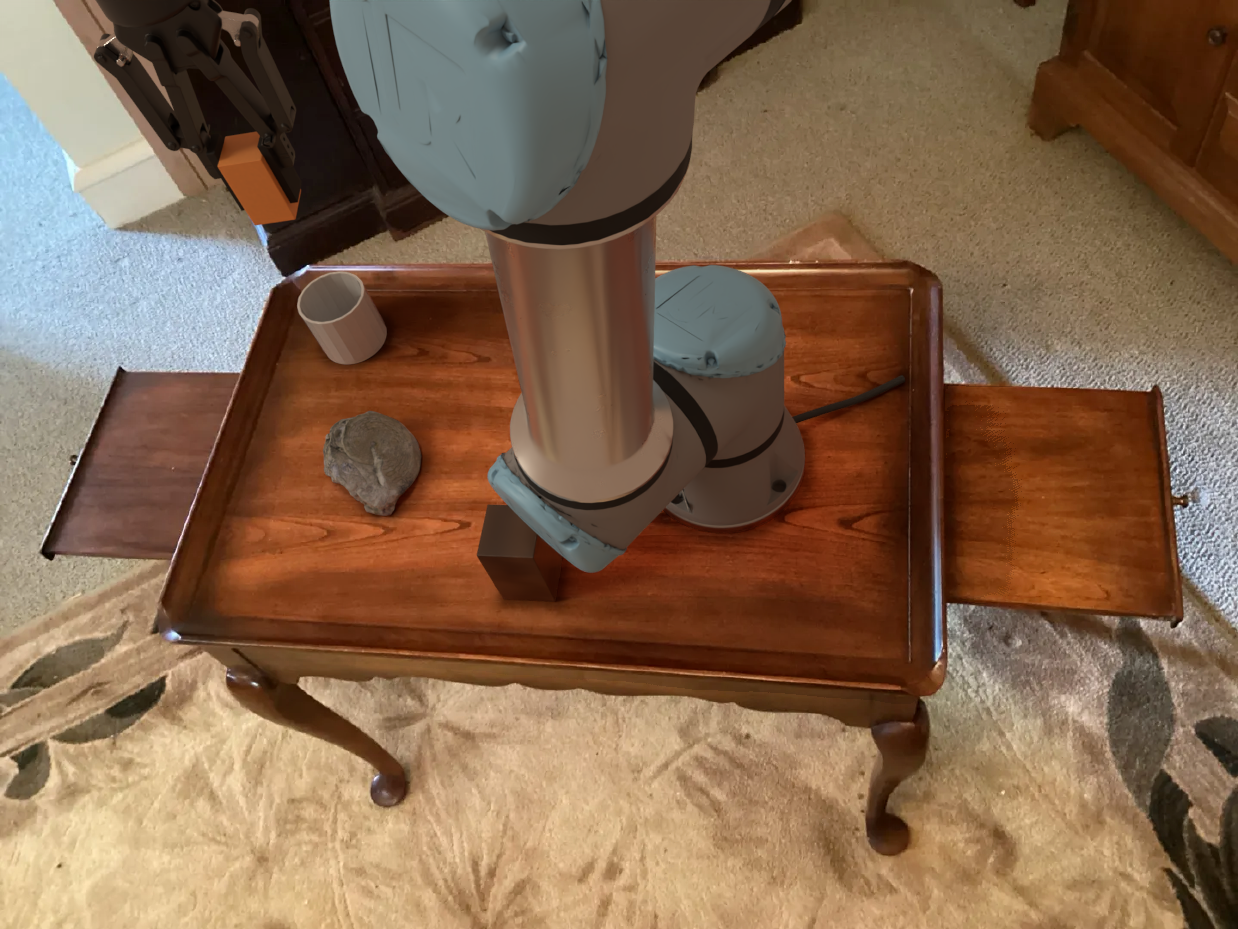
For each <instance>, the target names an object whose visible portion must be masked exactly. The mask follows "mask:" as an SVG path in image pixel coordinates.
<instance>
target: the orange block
mask: <svg viewBox="0 0 1238 929" xmlns="http://www.w3.org/2000/svg"><path fill="white" fill-rule="evenodd" d="M259 137H260V135H259V134H258V133H257V132H256V131H252V132H251V131H250V132H246V133H245V132H244V133H240V134H239V133H238V134H234V135H233V134H232V135H227V136H225V137H224V144H223V148H222V152H221V156H220V159H219V163H218V168H219V170H220V171H221V173H222V175H223V176H224V178H225V179H226V181H227V182H228V184H229V186H230V187H231V189H232V190H233V192H234V193H235V195H236V197H237V198H238V200H239V201H240V203H241V205H242V206H243V208H244V209H245V210H244V212H245V213H246V214H247V216H248V217H249V219H250V221H251V222H252V223H253V225H254V226H261V225H268V224H274V223H282V222H288V221H294V220H296V219H297V214H298V210H299V209H298V208H299V204H300V198H301V194H302V188H301V189H300V194H299V199H298V202H296V203H290V202H289V200H288V198H287V197H286V195H285V193H284V191H283V190H282V188H281V186H280V184H279V183H278V181H277V179H276V177H275V176H274V174H273V172H272V171H271V169H270V167H269V165H268V164H267V162H266V160H265V158H264V157H263V155H262V154H261V152H260V150H259V149H258V147H257V146H258V141H259Z"/></svg>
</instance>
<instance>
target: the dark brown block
mask: <svg viewBox="0 0 1238 929" xmlns="http://www.w3.org/2000/svg"><path fill="white" fill-rule="evenodd" d="M476 551H477V552H476V557H477V559H478V560H479V562H480V564H481V565H482V567H483V569H484V570H485V573H487V575H488V578H490V580H491V582H492V583H493V585H494V587H495V589H496V590H497V591H498V593H499V595H500V597H501V598H502V599H503V600H509V601H510V600H512V601H533V602H549V603H550V602H552V603H556V601H557V596H558V588H559V584H560V578H561V572H562V565H563V558H564V557H563V556H562V555H560V554H559V553H558V552H557V551H556V550H554V549H553V548H552V547H551V546H550V545H549V544H548V543H547V542H545V541H544V540H543V539H542V538H541V537H540V536H539V535H538V534H537V533H536V532H535V531H533V530H532V529H531V528H530V527H529V526H528V525H527V524H526V523H525V522H524V521H523V520H522V519H521V518H520V517H519V516H518V515H517V514H516V513H515V512H514V511H513V510H512V509H511V508H510V507H509V506H508V505H507V504H491V503H490V504H487V505H486V510H485V514H484V519H483V523H482V528H481V533H480V537H479V542H478V546H477V550H476Z"/></svg>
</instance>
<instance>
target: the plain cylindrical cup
mask: <svg viewBox="0 0 1238 929" xmlns="http://www.w3.org/2000/svg"><path fill="white" fill-rule="evenodd" d="M296 304H297V305H296V307H297V312H298V315H299V316H300V318H301V319H302V321H303V322H304V324H305V325H306V327H307V328H308V330H309V331H310V333H311V334H312V336H313V337H314V339H315V341H316V342H317V343H318V345H319V347H320V348H321V350H322V351H323V353H324V354H325V355H326V357H327V358H328V359H329V360H331V361H332V362H334V363H336V364H339V365H354V364H359V363H362V362H364V361H367V360H368V359H370V358H371V357H373V356H374V355H376V354H377V353H378V352H379V351H380V349H381V348H382V347H383V345H384V344H385V342H386V339H387V335H388V333H387V331H388V329H387V325H386V324H385V321H384V318H383V317H382V315H381V314H380V311H379V310H378V308H377V306H376V304H375V302H374V300H373V298H372V296H371V295H370V292H368V289H367V287H366V285H365V283H364V282H363V280H362V279H361V278H360V277H359V276H358V275H356V274H354V273H353V272H349V271H342V270H338V271H333V272H327V273H325V274H322V275H319V276H318V277H316V278H314V279H313V280H312V281H310V282H309V283H308V284H307V285H306V286H305V287H304V288H303V289H302V291H301V293H300V295H299V296H298V298H297V303H296Z"/></svg>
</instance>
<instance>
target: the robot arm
mask: <svg viewBox="0 0 1238 929" xmlns="http://www.w3.org/2000/svg"><path fill="white" fill-rule="evenodd" d="M95 2H96V4H97V5H98V7H99V8H100V10H101V11H102V13H103V14H104V16H105V17H106V18H107V20H108V21H110V22H111V23H112V26H113V33H102V35H101V37H100V39H99V41H98V43H97V45H96V48H95V51H94V53H93V59H94V61H95V62H96V63H97V64H98V65H99V66H100V67H102V68H103V69H104V70H105V71H107V72H108V73H109V74H111V76H113V77H114V78H115V79H116V80H117V82H118V83H119V84H120V85H121V87H122V88H123V90H124V92H126V94H127V95H128V96H129V98H130V100H131V101H132V102H133V104H134V105H135V107H136V108H137V110H139V112H140V113H141V114H142V116H143V117H144V119H145V120H146V122H147V123H148V124H149V126H150V127H151V128H152V130H153V131H154V132H155V134H156V135H157V137H158V138H159V139H160V141H161V142H162V144H163V145H164V146H165V148H167V149H168V150H169V151H171V152H177V151H179V150H180V149H184V150H189V151H190V152H192V153H194V154H195V155H196V156H197V159H199V161H200V163H201V165H203V167H204V169H205V170H206V172H207V173H208V175H209V176H210V177H211V178H212V179H214V180H218V179H219V180H221V181H222V182H223V184H224V185H225V187H226V189H227V190H228V192H229V194H230V195H231V196H232V198H233V200H234V201H235V203H236V204H237V206H238V208H239V209H240V211H241V212H243V211H244V212H245V209H244V208H243V206H242V205H241V203H240V201H239V200H238V198H237V197H236V195H235V193H234V192H233V190H232V189H231V187H230V186H229V184H228V182H227V181H226V179H225V178H224V176H223V175H222V173H221V171H220V170H219V168H218V163H219V159H220V156H221V152H222V148H223V144H224V140H225V138H224V137H223V136H222V134H221V133H220V132H215V133H211V134H210V136H209V132H210V128H211V124H207V122H206V120H205V117H204V114H203V112H202V109H201V106H200V103H199V101H198V98H197V95H196V92H195V90H194V87H193V84H192V81H191V78H190V76H189V74H188V71H187V70H189V69H191V70H200V71H201V73H202V74H203V75H204V76H205V77H206V79H207V80H208V81H209V82H214V83H215V85H216V86H218V88H219V89H220V90H221V91H222V92H223V94H224V95H225V96H226V97H227V98H228V100H229V101H230V102H231V103H232V105H233V106H234V107H235V108H236V109H237V110H238V111H239V113H240V114H241V115H242V116H243V117H244V119H245V120H246V121H247V122H248V124H249V125H250V126H251V127H252V129H253V130H254V131H255V132H257V133H258V134H259V135H260V137H259V141H258V146H257V147H258V149H259V150H260V152H261V154H262V155H263V157H264V158H265V160H266V162H267V164H268V165H269V167H270V169H271V171H272V172H273V174H274V176H275V177H276V179H277V181H278V183H279V184H280V186H281V188H282V190H283V191H284V193H285V195H286V197H287V198H288V200H289V202H290V203H296V202H298V199H299V194H300V189H301V190H302V183H303V181H302V179H301V178H300V176H299V174H298V173H297V170H296V169H295V167H294V164H295V158H296V151H295V148H294V147H293V146H292V144H291V142H290V140H289V138H288V136H287V134H289V133H291V132H292V131H293V128H294V123H295V119H296V114H297V107H296V105H295V103H294V101H293V99H292V97H291V94H290V93H289V90H288V88H287V86H286V84H285V81H284V80H283V77H282V76H281V75H282V74H281V73H280V71H279V69H278V67H277V64H276V63H275V60H274V59H273V56H272V54H271V51H270V50H269V47H268V46H267V43H266V40H265V38H264V37H263V29H262V16H261V14H260V12H259V11H258V10H257V9H255V8H253V7H249V8H246V9H245V11H244V12H243V13H237V12H233V11H232V12H231V11H227V10H223V8H222V6H221V4H219V3H218V2H217V1H216V0H95ZM791 2H792V0H329V8H330V9H329V10H330V17H331V25H332V30H333V35H334V40H335V45H336V48H337V52H338V56H339V59H340V62H341V65H342V67H343V71H344V73H345V76H346V78H347V82H348V84H349V86H350V89H351V91H352V94H353V96H354V98H355V100H356V102H357V104H358V107H359V108H360V110H361V112H362V113H363V114H364V115H367V116H369V117H370V118H371V119H372V120H373V122H374V125H375V127H376V129H377V134H376V137H377V140H378V141H379V143H380V144H381V147H383V149H384V151H385V153H386V154H387V155H388V156H389V158H390V159H391V161H392V162H393V163H394V165H395V166H396V167H397V169H398V171H400V172H401V174H402V175H403V176H404V177H405V178H406V180H407V181H408V182H409V183H410V184H411V185H412V186H413V187H414V188H415V189H416V190H417V191H418V192H419V193H420V194H421V195H422V196H423V198H425V199H426V200H427V201H429V202H430V203H431V204H432V205H433V206H435V207H436V208H437V209H438V210H439V211H441V212H442V213H443V214H446V216H448V217H450V218H451V219H453V220H455V221H457V222H459V223H460V224H463V225H466V226H468V227H471V228H475V229H479V230H481V231H483V232H484V235H485V238H486V243H487V247H488V252H489V257H490V260H491V264H492V269H493V273H494V277H495V282H496V287H497V291H498V295H499V299H500V304H501V309H502V313H503V318H504V322H505V326H506V330H507V334H508V339H509V343H510V348H511V352H512V356H513V361H514V365H515V370H516V375H517V379H518V383H519V387H520V391H521V393H520V394H519V396H518V398H517V400H516V402H515V404H514V407H513V410H512V413H511V416H510V422H509V439H510V446H511V447H510V448H509V449H508V450H507V451H506V452H501V453H500V454H499V455H498V456H497V457H496V461H495V462H494V463H493V464H492V465H491V466H490V468H489V469H488V472H487V480H488V484H489V485H490V486H491V489H492V490H494V492H495V493H496V494H497V495H498V496H499V498H500V499H501V500H502V501H503V502H504V503H505V505H508V506H509V507H510V508H511V509H512V510H513V511H514V512H515V513H516V514H517V515H518V516H519V517H520V518H521V519H522V520H523V521H524V522H525V523H526V524H527V525H528V526H529V527H530V528H531V529H532V530H533V531H535V532H536V533H537V534H538V535H539V536H540V537H541V538H542V539H543V540H544V541H545V542H547V543H548V544H549V545H550V546H551V547H552V548H553V549H554V550H556V551H557V552H558V553H559V554H560V555H562V556H563V558H564V559H565V560H567V561H568V562H569V563H570V564H571V565H573V566H574V567H576V568H577V569H578V570H580V571H582V572H585V573H590V574H593V573H598V572H601V571H602V570H604V569H605V568H606V567H607V566H608V565H610V564H611V563H612V562H613V561H614V560H616V559H617V558H618V557H619V556H623V555H624V554H625V553H626V551H627V550H628V547H629V546H630V545H631V544H632V543H633V542H634V540H636V539H637V538H638V536H639V535H640V534H642V532H643V531H644V530H645V529H646V528H647V527H648V526H649V525H650V524H651V523H652V522H654V520H655V519H656V518H657V517H658V516H659V515H660V514H661V513H662V512H664V513H665V514H666V515H667V516H668V517H670V518H671V519H673V520H674V521H676V522H677V523H679V524H681V525H682V526H685V527H686V528H690V529H692V530H696V531H699V532H705V533H711V534H734V533H741V532H745V531H748V530H752V529H755V528H757V527H760V526H762V525H764V524H766V523H768V522H770V521H771V520H773V519H774V518H776V517H777V516H778V515H779V514H781V513H782V512H783V511H784V510H785V509H787V507H788V506H789V505H790V504H791V503H792V501H793V500H794V499H795V497H796V495H797V494H798V492H799V490H800V488H801V486H802V483H803V479H804V475H805V468H806V450H805V444H804V440H803V436H802V434H801V433H802V432H801V430H800V428H799V426H798V424H799V423H802V422H806V421H808V420H811V419H813V418H817V417H820V416H823V415H827V414H830V413H832V412H835V411H839V410H842V409H846V408H849V407H853V406H855V405H858V404H861V403H863V402H865V401H868V400H871V399H872V398H875V397H877V396H879V395H881V394H884V393H885V392H887V391H889V390H892V389H893V388H895V387H898V386H899V385H901V384H904V383H905V382H906V378H905V376H904V375H903V374H901V375H899V376H897V377H895V378H893V379H890V380H888V381H887V382H884V383H881V384H880V385H878V386H875V387H874V388H872V389H869V390H868V391H865V392H862V393H860V394H858V395H855V396H852V397H849V398H846V399H843V400H839V401H836V402H833V403H832V402H831V403H829V404H825V405H823V406H820V407H817V408H814V409H811V410H808V411H804V412H801V413H799V414H796V415H791V413H790V412H789V410H788V408H787V406H786V404H785V348H786V346H787V341H786V337H787V335H786V333H785V332H786V331H785V328H784V326H783V317H782V316H783V315H782V312H781V308H780V305H779V303H778V301H777V298H776V296H774V294H773V293H772V291H771V290H770V289H769V288H768V287H767V286H766V285H765V284H764V283H762V282H761V280H759V279H758V278H756V277H754V276H752V275H751V274H749V273H747V272H744V271H742V270H740V269H737V268H733V267H730V266H725V265H718V264H709V265H703V266H702V265H701V266H699V265H695V264H693V265H687V266H682V267H678V268H675V269H672V270H669V271H667V272H665V273H662V274H661V275H659V276H657V277H656V262H657V260H656V259H657V258H656V257H657V217H658V215H659V214H660V213H661V212H662V211H663V210H664V209H665V208H667V206H668V205H669V204H670V203H671V201H673V199H674V198H675V196H676V195H677V194H678V193H679V190H680V188H681V187H682V184H683V182H684V180H685V178H686V176H687V173H688V171H689V168H690V165H691V164H690V163H691V157H692V150H693V136H694V135H693V134H694V124H695V110H696V109H695V108H696V99H697V98H696V96H697V91H698V89H699V86H700V84H701V82H702V80H703V79H704V78H705V76H706V75H707V74H708V72H710V71H711V70H712V69H713V68H714V67H716V66H717V65H718V64H719V63H720V62H721V61H723V60H724V59H725V58H726V57H727V56H729V55H730V54H731V53H732V52H733V51H735V50H736V49H737V48H738V47H739V46H740V45H742V44H743V43H744V42H745V41H746V40H747V39H749V38H750V37H751V36H752V35H753V34H754V33H756V32H757V31H758V30H759V29H760V28H762V27H763V26H764V25H765V24H766V23H768V22H769V21H770V20H772V19H773V18H774V17H775V16H777V15H778V14H779V13H780V12H781V11H783V10H784V9H785V8H786V7H787V6H788V5H789V4H790V3H791ZM223 30H224V31H226V32H228V33H229V35H230V37H231V40H233V44H234V46H236V47H240V49H241V50H240V51H241V54H242V57H243V60H244V62H245V64H246V66H247V68H248V70H249V72H250V74H251V76H252V78H253V80H254V82H255V84H256V86H257V88H258V89H257V88H256V86H255V85H254V84H253V83H252V81H251V80H250V79H249V78H248V76H247V75H246V73H245V72H244V71H243V70H242V69H241V68H240V67H239V64H237V63H236V61H235V60H234V58H233V57H232V55H231V52H230V49H229V48H228V46H227V45H226V44H225V42H224V41H223V40H222V39H221V38H222V33H223ZM135 54H136V55H139V56H140V57H142V58H143V59H145V60H147V61H149V62H150V63H151V64H152V66H153V68H154V72H155V73H156V76H157V78H158V81H159V84H160V85H161V87H164V89H165V92H166V94H167V96H168V99H169V101H168V100H167V98H166V97H165V96H164V94H163V92H162V91H161V90H160V88H159V87H158V86H157V84H156V82H155V81H154V79H153V78H152V77H151V75H150V74H149V73H148V71H147V70H146V68H145V66H144V65H143V64H142V62H141V61H140V59H139V58H138V56H136V55H135ZM169 102H170V103H169ZM300 195H301V194H300ZM299 200H300V199H299Z"/></svg>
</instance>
